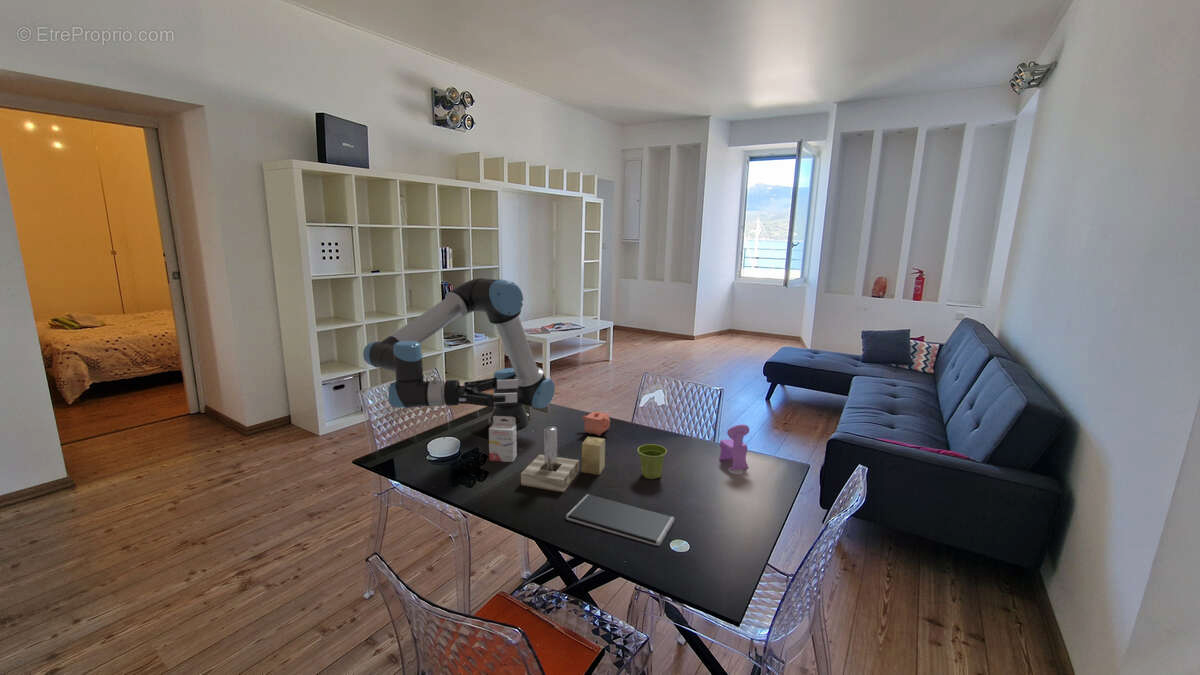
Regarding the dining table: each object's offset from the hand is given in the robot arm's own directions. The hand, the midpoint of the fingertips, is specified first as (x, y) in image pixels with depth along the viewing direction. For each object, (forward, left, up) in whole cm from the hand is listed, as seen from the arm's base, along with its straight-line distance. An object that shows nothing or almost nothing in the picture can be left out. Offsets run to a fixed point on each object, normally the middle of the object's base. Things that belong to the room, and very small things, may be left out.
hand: (517, 390), depth 148 cm
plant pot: (-16, +39, -30) cm, 51 cm away
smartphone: (+12, +36, -30) cm, 48 cm away
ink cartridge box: (-12, -12, -30) cm, 34 cm away
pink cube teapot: (-45, +11, -30) cm, 55 cm away
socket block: (-4, +9, -29) cm, 31 cm away
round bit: (-4, +9, -29) cm, 31 cm away
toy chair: (-33, +64, -30) cm, 78 cm away
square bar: (-14, +20, -30) cm, 38 cm away
